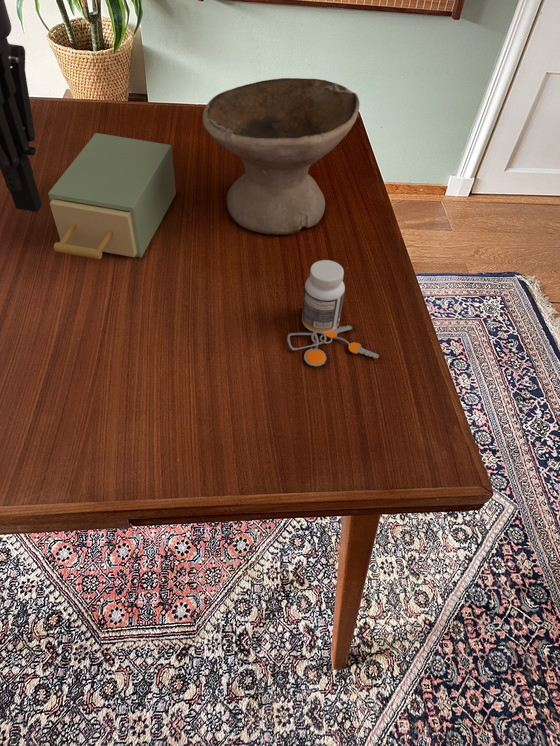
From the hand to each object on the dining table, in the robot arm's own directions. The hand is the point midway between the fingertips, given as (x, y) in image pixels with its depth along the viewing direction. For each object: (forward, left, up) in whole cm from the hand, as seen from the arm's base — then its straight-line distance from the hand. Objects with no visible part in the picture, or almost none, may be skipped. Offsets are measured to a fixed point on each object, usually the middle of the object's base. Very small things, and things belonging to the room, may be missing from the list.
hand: (29, 206), depth 71 cm
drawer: (-2, +19, -17) cm, 26 cm away
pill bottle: (+37, +11, -18) cm, 42 cm away
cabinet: (-2, +24, -18) cm, 30 cm away
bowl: (+21, +37, -19) cm, 47 cm away
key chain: (+39, +7, -18) cm, 44 cm away
